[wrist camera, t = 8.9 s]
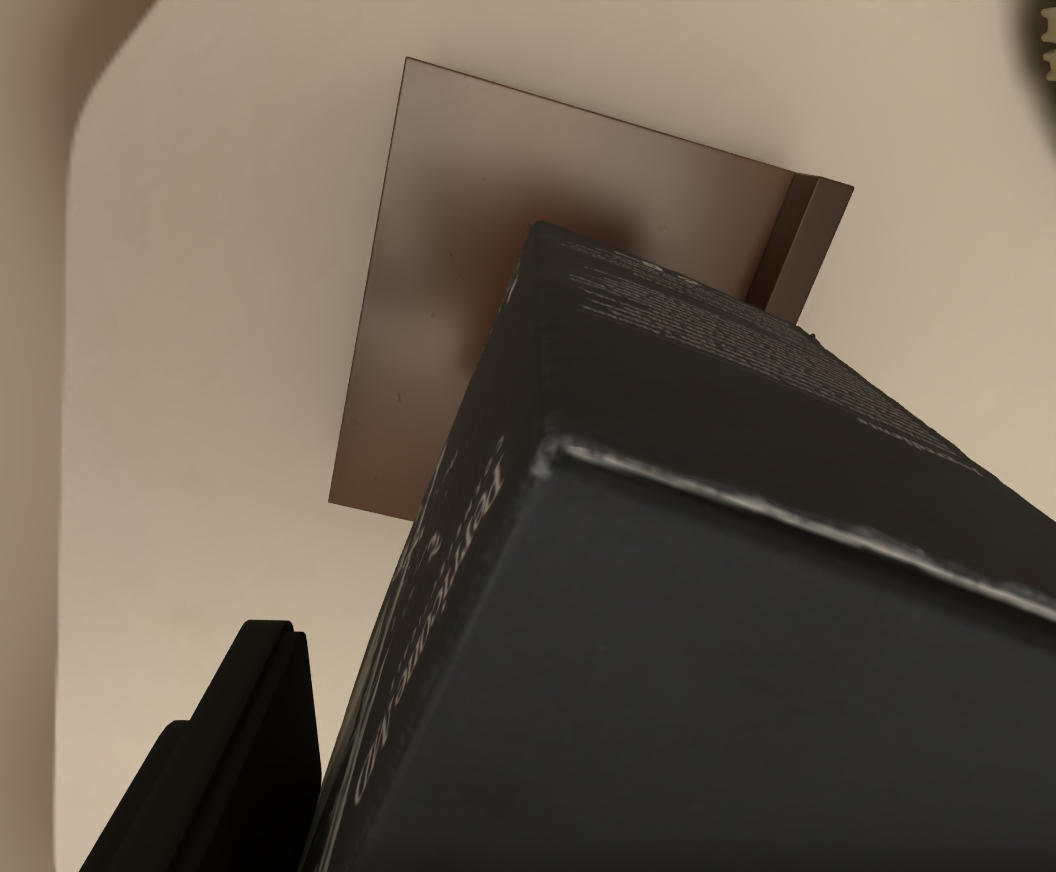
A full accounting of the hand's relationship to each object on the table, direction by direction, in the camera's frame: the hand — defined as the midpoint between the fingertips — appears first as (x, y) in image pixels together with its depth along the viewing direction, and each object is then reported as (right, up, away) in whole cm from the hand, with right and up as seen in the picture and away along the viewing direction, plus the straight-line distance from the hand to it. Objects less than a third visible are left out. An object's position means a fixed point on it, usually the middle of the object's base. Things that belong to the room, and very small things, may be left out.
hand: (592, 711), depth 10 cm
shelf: (0, +8, +19) cm, 21 cm away
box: (0, +3, +6) cm, 7 cm away
